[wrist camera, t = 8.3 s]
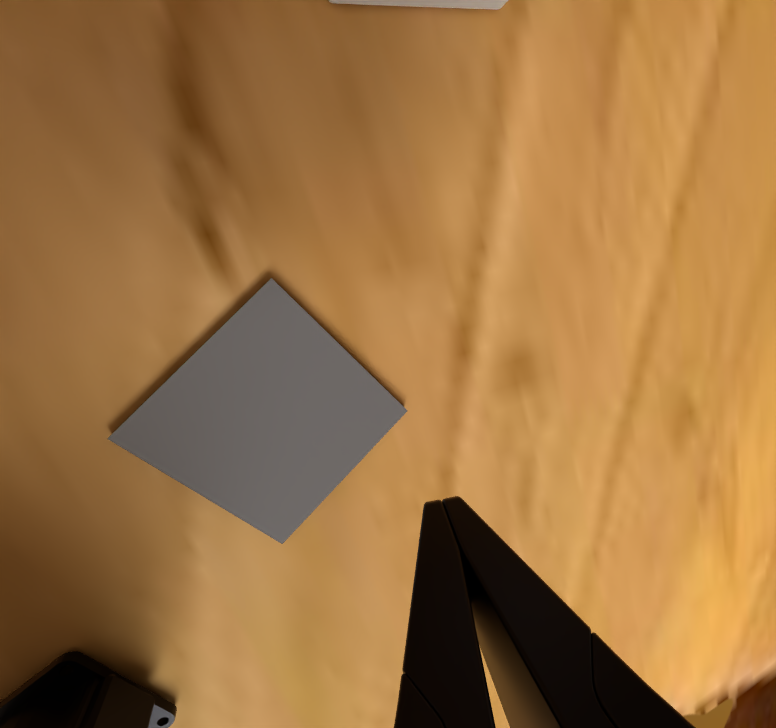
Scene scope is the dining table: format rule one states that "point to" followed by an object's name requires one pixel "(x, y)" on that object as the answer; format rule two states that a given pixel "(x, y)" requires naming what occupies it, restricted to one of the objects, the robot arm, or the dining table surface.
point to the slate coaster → (263, 416)
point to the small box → (431, 3)
